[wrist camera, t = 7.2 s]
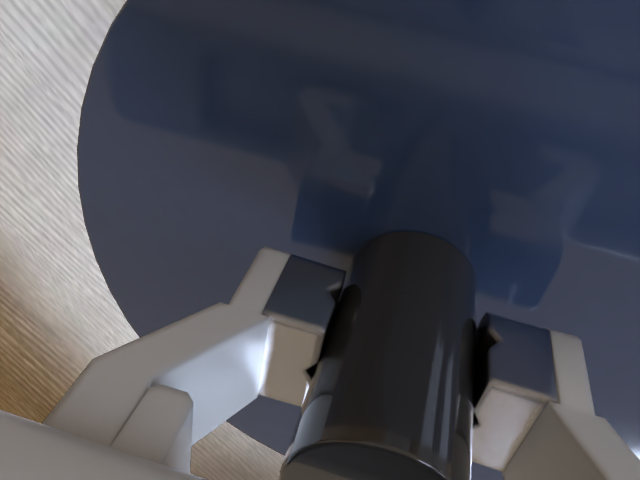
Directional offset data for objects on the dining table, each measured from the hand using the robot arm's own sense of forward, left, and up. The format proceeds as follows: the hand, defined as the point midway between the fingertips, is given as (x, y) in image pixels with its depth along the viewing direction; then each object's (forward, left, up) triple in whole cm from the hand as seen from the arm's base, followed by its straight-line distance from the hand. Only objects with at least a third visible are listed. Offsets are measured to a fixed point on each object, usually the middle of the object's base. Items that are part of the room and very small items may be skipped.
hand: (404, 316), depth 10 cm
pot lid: (0, 0, -2) cm, 2 cm away
